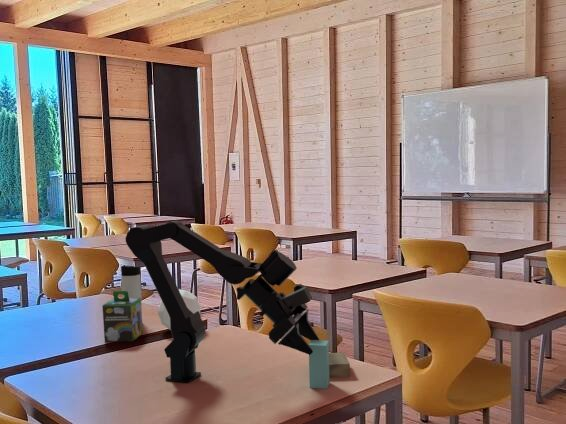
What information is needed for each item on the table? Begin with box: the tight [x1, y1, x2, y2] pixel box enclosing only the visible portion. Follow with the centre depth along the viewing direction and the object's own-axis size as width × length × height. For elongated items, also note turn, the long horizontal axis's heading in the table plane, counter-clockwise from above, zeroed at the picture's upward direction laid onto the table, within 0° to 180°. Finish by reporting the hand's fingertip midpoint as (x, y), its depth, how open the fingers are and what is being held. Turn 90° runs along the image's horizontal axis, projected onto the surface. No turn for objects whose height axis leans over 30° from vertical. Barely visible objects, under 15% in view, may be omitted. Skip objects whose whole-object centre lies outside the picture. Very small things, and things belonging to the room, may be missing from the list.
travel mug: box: [120, 265, 143, 314], centre depth 197 cm, size 6×7×20 cm
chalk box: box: [102, 290, 144, 343], centre depth 180 cm, size 9×9×15 cm
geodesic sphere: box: [157, 288, 201, 331], centre depth 187 cm, size 14×14×14 cm
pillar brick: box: [308, 339, 330, 390], centre depth 136 cm, size 4×4×10 cm
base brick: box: [329, 352, 351, 378], centre depth 146 cm, size 9×9×4 cm
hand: (315, 347), depth 136 cm, fingers open, 9 cm apart
